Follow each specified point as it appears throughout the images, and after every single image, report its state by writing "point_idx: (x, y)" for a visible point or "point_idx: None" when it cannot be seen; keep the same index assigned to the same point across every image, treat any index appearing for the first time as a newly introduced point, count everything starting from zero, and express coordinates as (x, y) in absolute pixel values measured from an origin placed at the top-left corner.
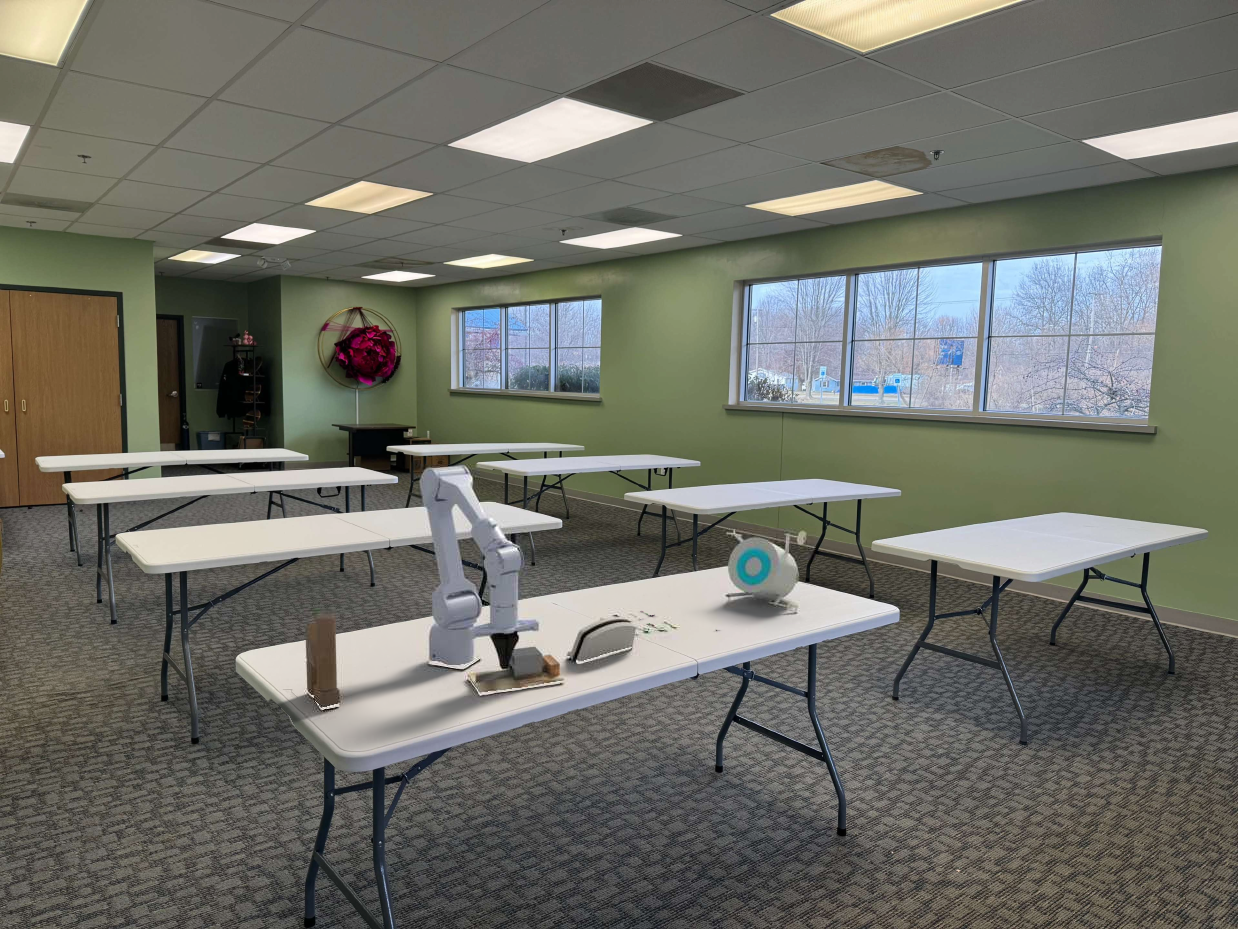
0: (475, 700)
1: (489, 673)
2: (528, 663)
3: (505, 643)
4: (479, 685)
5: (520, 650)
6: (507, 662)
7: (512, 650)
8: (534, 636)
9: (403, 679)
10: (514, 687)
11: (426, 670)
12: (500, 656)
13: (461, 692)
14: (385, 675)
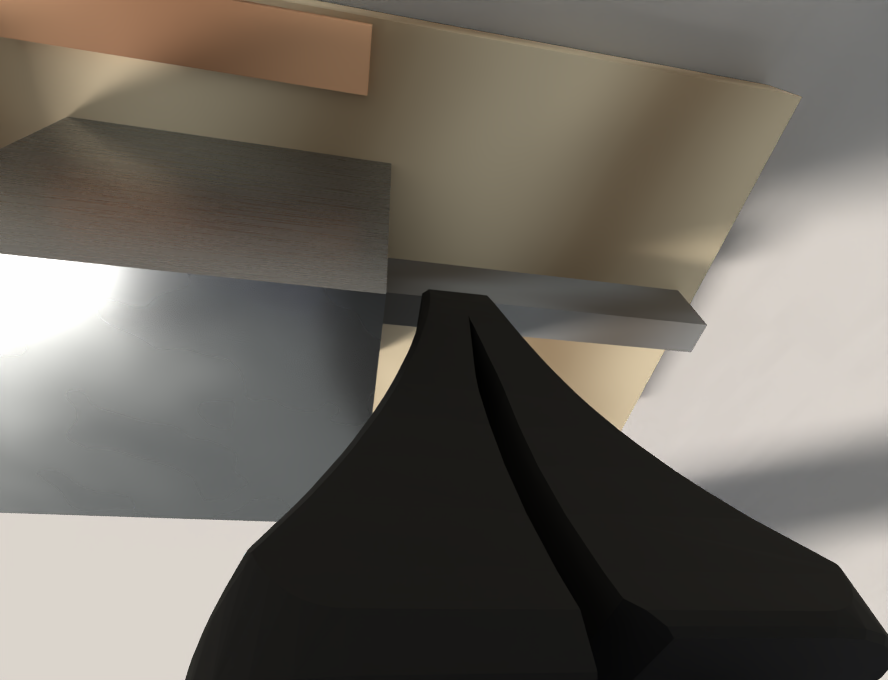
0: (857, 16)
1: (592, 315)
2: (175, 206)
3: (607, 536)
4: (705, 222)
5: (212, 470)
6: (450, 320)
7: (393, 411)
8: (69, 675)
9: (830, 512)
10: (444, 29)
11: None
12: (565, 385)
13: (786, 247)
14: (838, 559)
